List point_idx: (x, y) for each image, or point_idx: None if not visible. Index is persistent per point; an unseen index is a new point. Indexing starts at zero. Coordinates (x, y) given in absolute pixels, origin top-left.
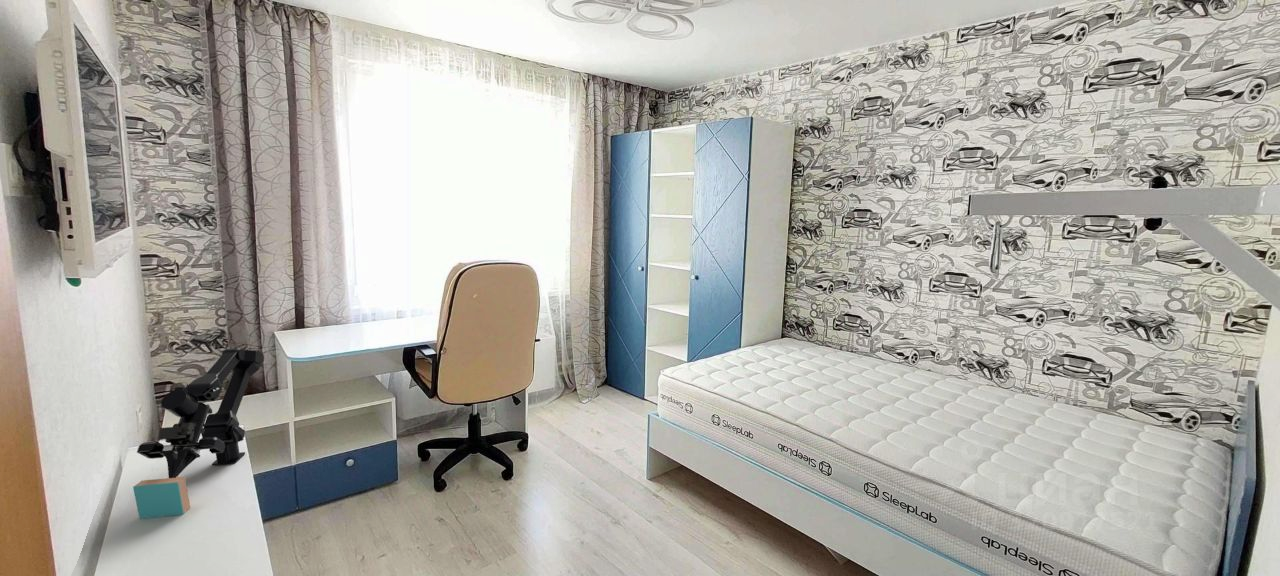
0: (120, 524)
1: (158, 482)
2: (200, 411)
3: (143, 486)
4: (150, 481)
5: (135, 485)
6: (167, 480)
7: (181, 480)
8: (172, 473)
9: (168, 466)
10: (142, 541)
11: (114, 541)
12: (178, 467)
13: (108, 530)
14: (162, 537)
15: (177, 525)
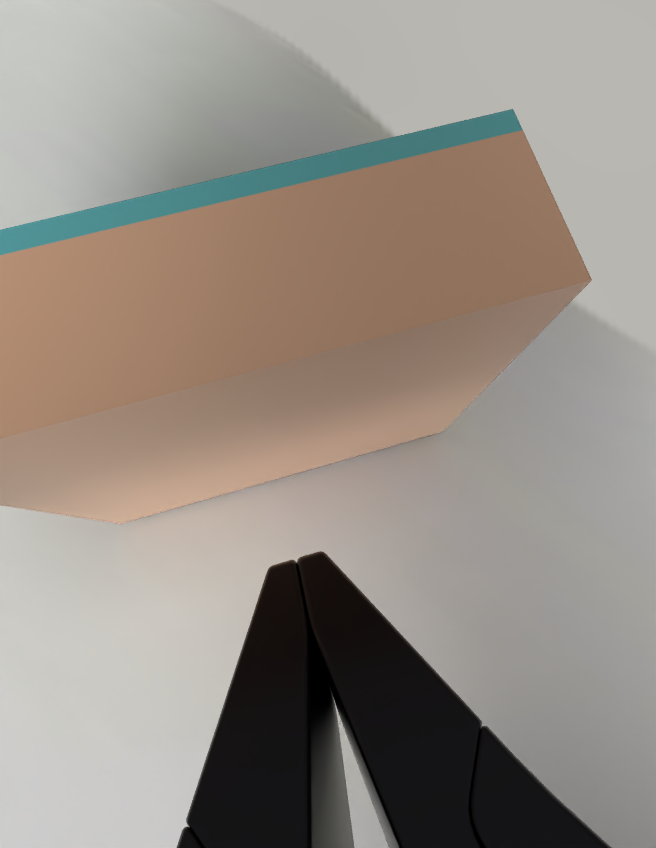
0: None
1: (206, 253)
2: None
3: (368, 153)
4: (391, 267)
5: (519, 144)
6: (94, 324)
7: None
8: (288, 619)
9: (454, 716)
10: (125, 139)
11: (316, 126)
12: (213, 777)
13: None
14: (23, 182)
15: None
